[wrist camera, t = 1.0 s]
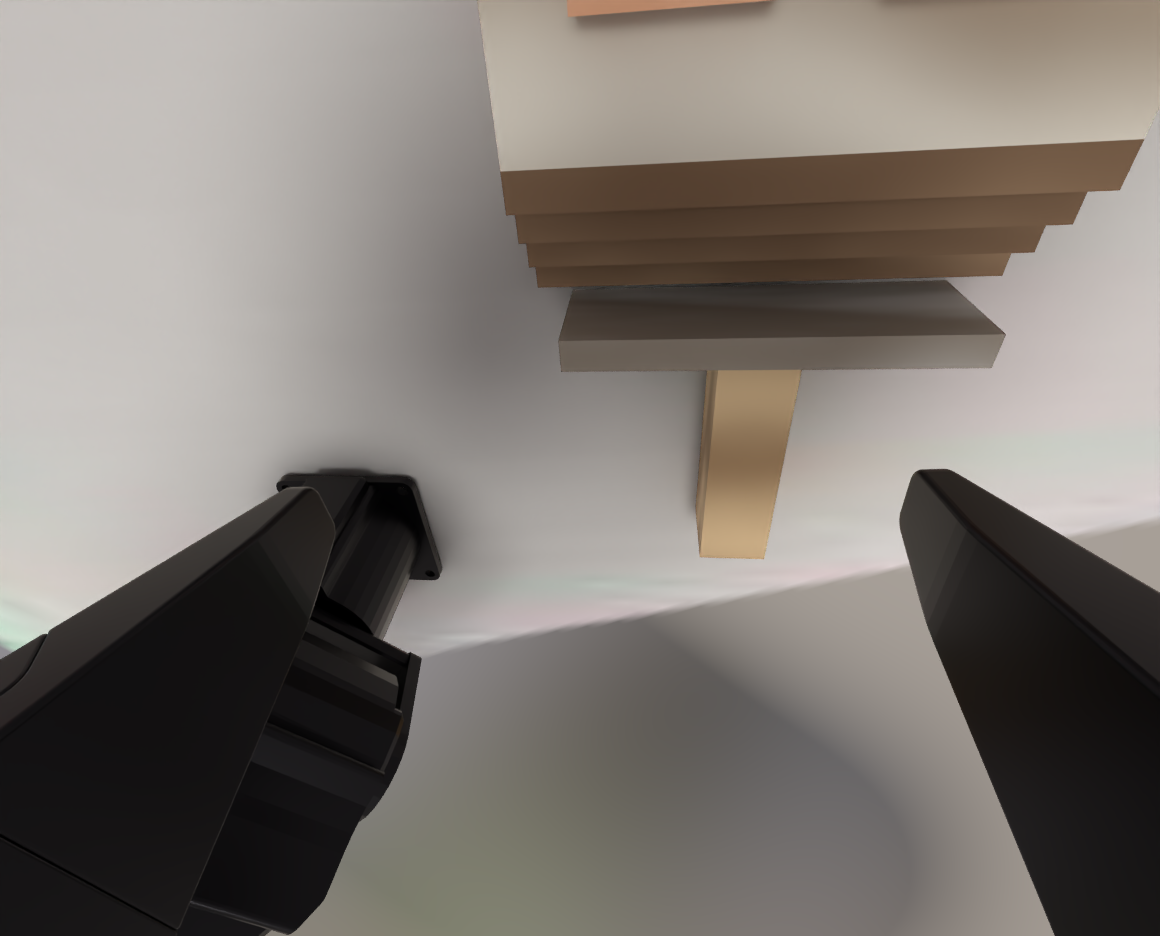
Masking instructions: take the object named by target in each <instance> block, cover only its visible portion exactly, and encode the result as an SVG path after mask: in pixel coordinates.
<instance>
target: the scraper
mask: <svg viewBox="0 0 1160 936" xmlns="http://www.w3.org/2000/svg"><path fill="white" fill-rule="evenodd" d="M1005 336H1006V334H1005V333H1004V332H1003V331H1002V330H1001V329H1000V328H998V327H997V326H996V325H995V324H994V323H993V322H992V321H991V320H990V319H989V318H987V317H986V316H985V315H984V314H983V313H982V312H981V311H980V310H979V309H977V308H976V307H975V306H974V305H973V304H972V303H971V302H970V301H969V300H968V299H966V298H965V297H964V296H963V295H962V294H961V293H960V292H959V291H958V290H956V289H955V288H954V287H953V286H952V285H951V284H950V283H949V282H948V281H947V280H940V281H900V282H860V283H820V284H780V285H740V286H700V287H660V288H620V289H580V290H573V291H572V295H571V298H570V302H569V305H568V309H567V312H566V316H565V319H564V323H563V327H562V330H561V334H560V337H559V341H558V343H559V353H560V364H561V372H591V371H707V377H706V389H705V401H704V413H703V425H702V437H701V449H700V460H699V472H698V484H697V496H696V519H697V530H698V542H699V553H700V557H710V558H745V559H764V556H765V551H766V546H767V541H768V536H769V531H770V526H771V521H772V516H773V511H774V506H775V501H776V496H777V491H778V486H779V481H780V476H781V471H782V466H783V461H784V456H785V451H786V446H787V441H788V436H789V431H790V426H791V421H792V416H793V411H794V406H795V401H796V396H797V391H798V386H799V381H800V376H801V371H802V370H822V369H938V368H992V366H993V364H994V361H995V359H996V357H997V354H998V352H999V350H1000V347H1001V345H1002V343H1003V340H1004V338H1005Z"/></svg>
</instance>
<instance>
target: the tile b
mask: <svg viewBox="0 0 1160 936" xmlns="http://www.w3.org/2000/svg"><path fill="white" fill-rule="evenodd" d="M762 1H775V0H567V12H568V17H579V16H591V15H603V14H615V13H628V12H640V11H652V10H664V9H677V8H689V7H701V6H713V5H726V4H738V3H750V2H762Z"/></svg>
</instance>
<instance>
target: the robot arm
mask: <svg viewBox="0 0 1160 936" xmlns="http://www.w3.org/2000/svg"><path fill="white" fill-rule="evenodd" d="M276 487H277V490H278V492H279V493H277V494H276V495H274V496H272V497H271V498H269V499H267V500H266V501H264V502H262V503H261V504H259V505H257V506H256V507H254V508H252V509H251V510H249V511H247V512H246V513H244V514H242V515H241V516H239V517H237V518H236V519H234V520H232V521H231V522H229V523H227V524H226V525H224V526H222V527H221V528H219V529H217V530H216V531H214V532H212V533H211V534H209V535H207V536H206V537H204V538H202V539H201V540H199V541H197V542H196V543H194V544H192V545H191V546H189V547H187V548H186V549H184V550H182V551H181V552H179V553H177V554H176V555H174V556H172V557H171V558H169V559H167V560H166V561H164V562H162V563H161V564H159V565H157V566H156V567H154V568H152V569H151V570H149V571H147V572H146V573H144V574H142V575H141V576H139V577H137V578H136V579H134V580H132V581H131V582H129V583H127V584H126V585H124V586H122V587H121V588H119V589H117V590H116V591H114V592H112V593H111V594H109V595H107V596H106V597H104V598H102V599H101V600H99V601H97V602H96V603H94V604H92V605H91V606H89V607H87V608H86V609H84V610H82V611H81V612H79V613H77V614H76V615H74V616H72V617H71V618H69V619H67V620H66V621H64V622H62V623H61V624H59V625H57V626H56V627H54V628H52V629H51V630H50V631H49V632H48V634H42V635H40V636H39V637H37V638H36V639H34V640H32V641H31V642H29V643H27V644H26V645H24V646H22V647H21V648H19V649H17V650H16V651H14V652H12V653H11V654H9V655H7V656H5V657H4V658H2V659H0V936H265V935H266V934H267V933H269V932H270V931H271V930H273V931H276V932H280V933H283V934H286V935H289V934H291V933H293V932H294V931H296V930H297V928H299V927H300V926H301V925H302V923H303V922H304V921H305V920H306V919H307V918H308V917H309V916H310V915H311V914H312V913H313V912H314V910H315V909H316V908H317V907H318V906H319V905H320V904H321V903H322V902H323V900H324V899H325V897H326V895H327V892H328V890H329V888H330V885H331V883H332V880H333V878H334V876H335V873H336V871H337V868H338V866H339V864H340V861H341V859H342V856H343V854H344V852H345V850H346V847H347V845H348V843H349V840H350V838H351V836H352V834H353V832H354V830H355V828H356V826H357V824H358V822H359V821H361V820H362V819H364V818H365V817H366V816H367V815H368V814H369V813H370V812H371V811H372V810H373V809H374V808H375V806H376V805H377V804H378V802H379V801H380V799H381V798H382V796H383V795H384V793H385V791H386V790H387V788H388V787H389V785H390V783H391V781H392V779H393V777H394V775H395V773H396V771H397V769H398V766H399V764H400V761H401V759H402V756H403V753H404V750H405V747H406V743H407V739H408V735H409V729H410V723H411V717H412V711H413V706H414V700H415V694H416V688H417V683H418V677H419V671H420V665H421V657H419V656H417V655H415V654H413V653H411V652H410V653H406V652H404V651H402V650H401V649H399V648H397V647H395V646H393V645H391V644H389V643H387V642H385V641H383V638H384V636H385V634H386V632H387V629H388V627H389V625H390V622H391V620H392V618H393V615H394V613H395V611H396V608H397V606H398V604H399V601H400V599H401V597H402V594H403V592H404V590H405V587H406V585H407V583H408V580H409V579H414V580H436V579H438V578H439V577H440V574H441V572H442V567H441V564H440V561H439V557H438V554H437V551H436V548H435V545H434V542H433V538H432V535H431V532H430V529H429V526H428V523H427V519H426V516H425V513H424V510H423V507H422V504H421V500H420V497H419V494H418V491H417V488H416V485H415V483H414V482H413V481H412V480H411V479H409V478H406V477H373V476H304V475H286V476H283V477H282V478H281V479H280V480H279V481H278V483H277V485H276ZM401 487H404V488H405V489H407V490H405V489H403V488H401ZM899 522H900V530H901V534H902V538H903V541H904V545H905V549H906V552H907V556H908V560H909V563H910V567H911V570H912V574H913V577H914V581H915V585H916V589H917V592H918V596H919V600H920V603H921V607H922V610H923V613H924V617H925V620H926V623H927V626H928V629H929V631H930V634H931V637H932V639H933V642H934V645H935V647H936V649H937V651H938V654H939V657H940V659H941V661H942V664H943V666H944V669H945V671H946V673H947V676H948V678H949V681H950V683H951V686H952V688H953V690H954V693H955V695H956V698H957V700H958V703H959V705H960V707H961V710H962V712H963V715H964V717H965V719H966V722H967V724H968V727H969V729H970V732H971V734H972V737H973V739H974V741H975V744H976V746H977V749H978V751H979V753H980V756H981V758H982V761H983V763H984V766H985V768H986V770H987V773H988V775H989V778H990V780H991V782H992V785H993V787H994V790H995V792H996V795H997V797H998V799H999V802H1000V804H1001V807H1002V809H1003V812H1004V814H1005V816H1006V819H1007V821H1008V824H1009V826H1010V828H1011V831H1012V833H1013V836H1014V838H1015V840H1016V843H1017V845H1018V848H1019V850H1020V853H1021V855H1022V858H1023V860H1024V862H1025V865H1026V867H1027V870H1028V872H1029V874H1030V877H1031V879H1032V881H1033V884H1034V886H1035V889H1036V891H1037V894H1038V896H1039V899H1040V901H1041V903H1042V906H1043V908H1044V911H1045V913H1046V916H1047V918H1048V921H1049V923H1050V925H1051V928H1052V930H1053V933H1054V935H1055V936H1160V592H1158V591H1156V590H1155V589H1153V588H1151V587H1149V586H1148V585H1146V584H1144V583H1143V582H1141V581H1139V580H1137V579H1136V578H1134V577H1132V576H1131V575H1129V574H1127V573H1126V572H1124V571H1122V570H1121V569H1119V568H1117V567H1115V566H1114V565H1112V564H1110V563H1109V562H1107V561H1105V560H1103V559H1102V558H1100V557H1098V556H1097V555H1095V554H1093V553H1092V552H1090V551H1088V550H1086V549H1085V548H1083V547H1081V546H1080V545H1078V544H1076V543H1075V542H1073V541H1071V540H1069V539H1068V538H1066V537H1064V536H1063V535H1061V534H1059V533H1058V532H1056V531H1054V530H1052V529H1051V528H1049V527H1047V526H1046V525H1044V524H1042V523H1040V522H1039V521H1037V520H1035V519H1034V518H1032V517H1030V516H1029V515H1027V514H1025V513H1023V512H1022V511H1020V510H1018V509H1017V508H1015V507H1013V506H1012V505H1010V504H1008V503H1006V502H1005V501H1003V500H1001V499H1000V498H998V497H996V496H994V495H993V494H991V493H989V492H988V491H986V490H984V489H983V488H981V487H979V486H977V485H976V484H974V483H972V482H971V481H969V480H967V479H966V478H964V477H962V476H960V475H959V474H957V473H955V472H953V471H951V470H948V469H923V470H918V471H916V472H915V473H914V474H913V476H912V478H911V480H910V483H909V486H908V490H907V493H906V496H905V499H904V503H903V506H902V509H901V512H900V519H899Z"/></svg>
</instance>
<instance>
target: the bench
mask: <svg viewBox="0 0 1160 936" xmlns="http://www.w3.org/2000/svg"><path fill="white" fill-rule="evenodd" d="M477 3H478V11H479V18H480V25H481V33H482V40H483V48H484V55H485V62H486V70H487V77H488V84H489V92H490V99H491V107H492V114H493V121H494V129H495V136H496V143H497V151H498V158H499V166H500V173H501V180H502V188H503V195H504V202H505V210H506V215H515V219H516V226H517V234H518V242H519V244H525V243H526V246H527V254H528V262H529V267H536V275H537V284H538V288H541V287H580V286H619V285H658V284H697V283H736V282H775V281H814V280H853V279H892V278H931V277H970V276H1002V275H1003V272H1004V270H1005V267H1006V265H1007V262H1008V260H1009V257H1010V255H1011V253H1028V252H1035V249H1036V247H1037V245H1038V242H1039V240H1040V238H1041V235H1042V233H1043V231H1044V228H1045V226H1046V225H1069V224H1073V223H1074V220H1075V218H1076V216H1077V214H1078V212H1079V209H1080V207H1081V205H1082V203H1083V201H1084V198H1085V196H1086V194H1087V192H1089V191H1113V190H1120V189H1121V186H1122V184H1123V182H1124V180H1125V178H1126V176H1127V174H1128V172H1129V170H1130V168H1131V166H1132V164H1133V162H1134V160H1135V157H1136V155H1137V153H1138V151H1139V149H1140V147H1141V145H1142V143H1143V141H1144V139H1145V137H1146V135H1147V133H1148V130H1149V128H1150V126H1151V124H1152V122H1153V120H1154V118H1155V116H1156V114H1157V112H1158V110H1159V108H1160V0H775V1H762V2H750V3H738V4H726V5H713V6H701V7H689V8H677V9H664V10H652V11H640V12H628V13H615V14H603V15H591V16H579V17H568V12H567V0H477Z"/></svg>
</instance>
